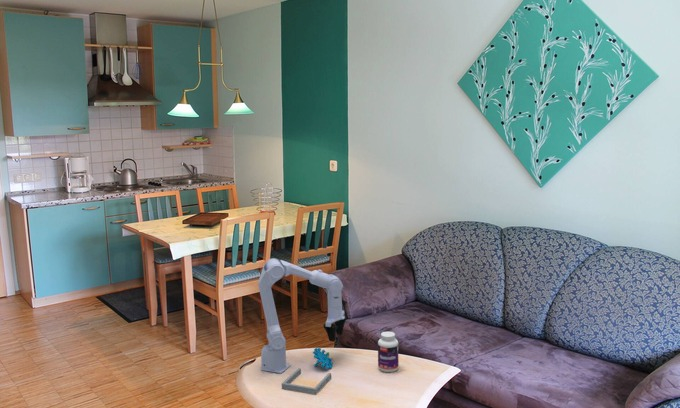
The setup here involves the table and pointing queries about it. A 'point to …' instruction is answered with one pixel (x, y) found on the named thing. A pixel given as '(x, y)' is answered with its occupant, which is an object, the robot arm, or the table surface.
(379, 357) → the pill bottle
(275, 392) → the table surface
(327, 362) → the gear
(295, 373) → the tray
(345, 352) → the table surface
